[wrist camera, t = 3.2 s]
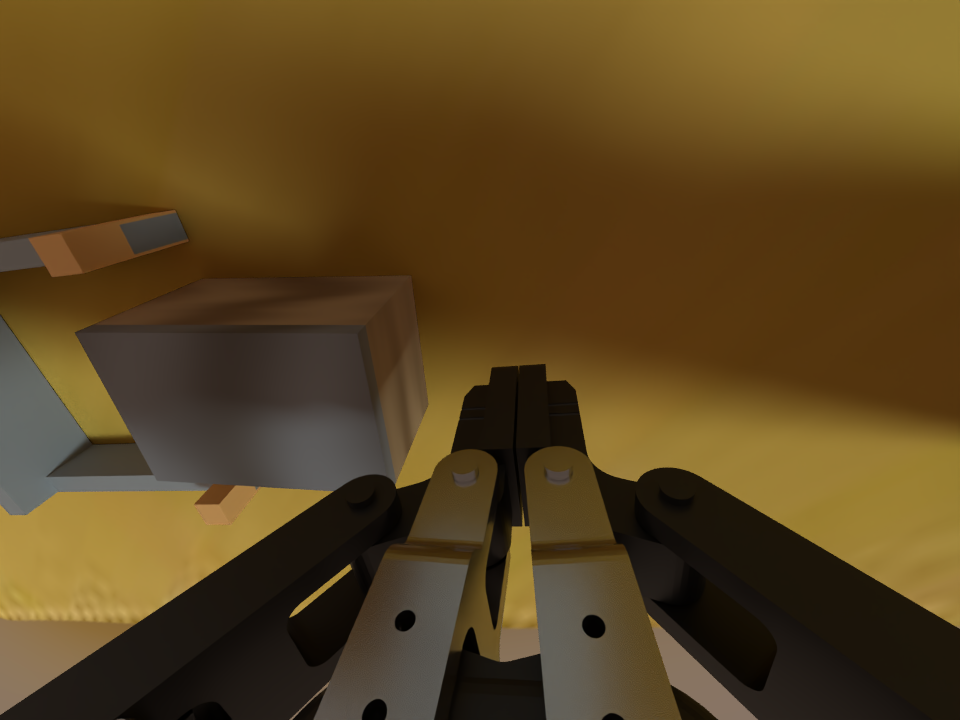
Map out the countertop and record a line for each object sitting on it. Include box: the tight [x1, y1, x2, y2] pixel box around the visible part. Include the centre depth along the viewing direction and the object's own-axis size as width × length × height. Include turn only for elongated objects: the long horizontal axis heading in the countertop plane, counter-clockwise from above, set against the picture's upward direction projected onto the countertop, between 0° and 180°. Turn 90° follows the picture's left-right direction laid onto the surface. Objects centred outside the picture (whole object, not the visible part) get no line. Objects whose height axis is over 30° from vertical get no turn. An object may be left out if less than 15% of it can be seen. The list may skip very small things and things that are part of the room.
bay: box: [0, 210, 261, 525], centre depth 18 cm, size 12×12×4 cm
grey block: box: [75, 275, 428, 491], centre depth 16 cm, size 9×6×6 cm, turn 93°
